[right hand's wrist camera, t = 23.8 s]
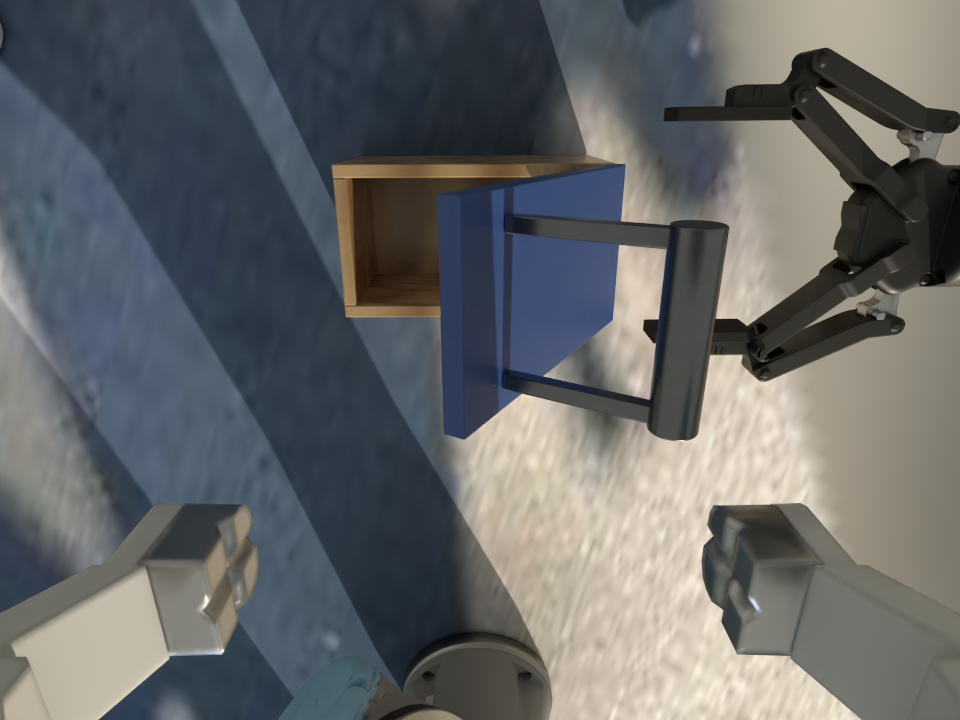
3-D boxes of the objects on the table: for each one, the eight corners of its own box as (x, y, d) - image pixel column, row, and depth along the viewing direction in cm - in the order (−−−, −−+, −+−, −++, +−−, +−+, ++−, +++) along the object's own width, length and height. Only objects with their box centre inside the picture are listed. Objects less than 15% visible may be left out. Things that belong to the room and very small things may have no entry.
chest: (370, 281, 46) (345, 317, 38) (360, 155, 43) (331, 164, 34) (580, 280, 46) (603, 316, 38) (588, 154, 43) (615, 163, 34)
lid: (443, 434, 24) (671, 502, 19) (436, 193, 20) (711, 212, 16) (597, 318, 37) (750, 342, 33) (609, 163, 34) (781, 169, 30)
